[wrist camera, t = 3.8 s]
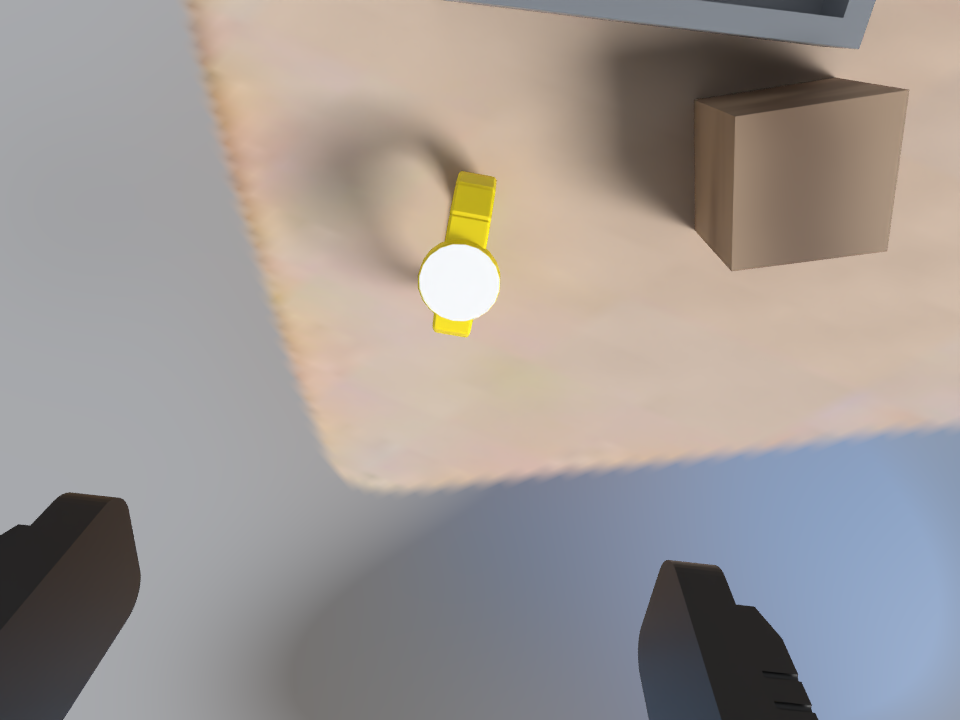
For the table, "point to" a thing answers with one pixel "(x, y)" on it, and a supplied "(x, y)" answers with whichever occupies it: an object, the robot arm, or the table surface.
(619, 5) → the slate tray
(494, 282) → the watch
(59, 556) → the robot arm
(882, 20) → the table surface
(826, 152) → the walnut block
